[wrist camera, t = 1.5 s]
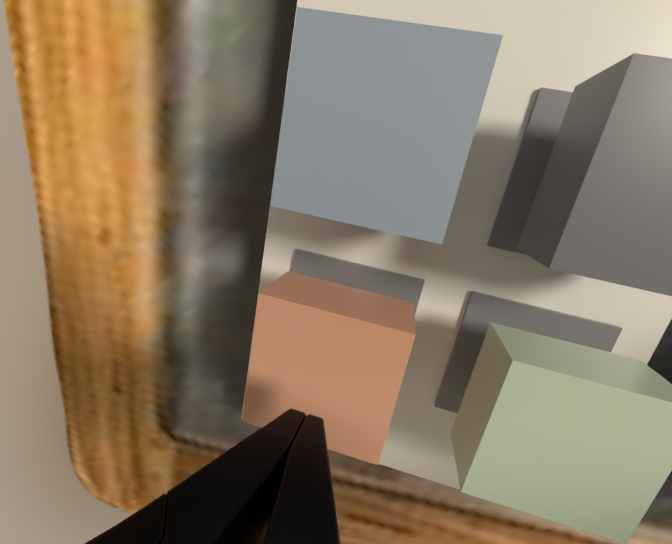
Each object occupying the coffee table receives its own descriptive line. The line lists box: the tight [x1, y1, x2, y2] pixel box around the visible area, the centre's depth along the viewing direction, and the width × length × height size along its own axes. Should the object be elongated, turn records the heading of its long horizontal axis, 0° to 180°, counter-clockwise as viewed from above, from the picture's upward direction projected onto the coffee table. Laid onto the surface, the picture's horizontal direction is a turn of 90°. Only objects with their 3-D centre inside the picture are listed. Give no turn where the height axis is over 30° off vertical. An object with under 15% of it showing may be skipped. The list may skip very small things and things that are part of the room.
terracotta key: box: [242, 271, 416, 465], centre depth 11 cm, size 4×4×2 cm
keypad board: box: [241, 0, 672, 490], centre depth 14 cm, size 15×20×2 cm
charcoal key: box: [517, 53, 672, 296], centre depth 8 cm, size 4×4×2 cm
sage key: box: [451, 322, 672, 544], centre depth 10 cm, size 4×4×2 cm
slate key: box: [270, 7, 503, 244], centre depth 9 cm, size 4×4×2 cm
